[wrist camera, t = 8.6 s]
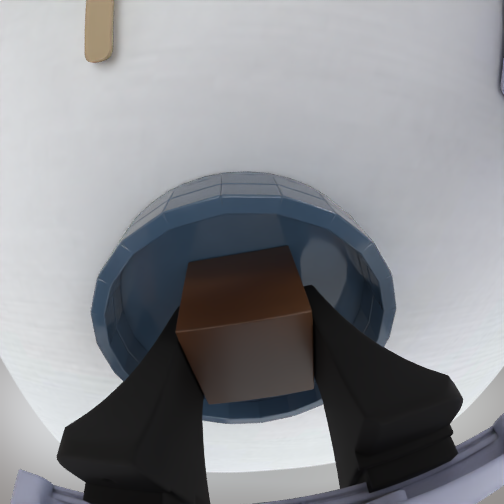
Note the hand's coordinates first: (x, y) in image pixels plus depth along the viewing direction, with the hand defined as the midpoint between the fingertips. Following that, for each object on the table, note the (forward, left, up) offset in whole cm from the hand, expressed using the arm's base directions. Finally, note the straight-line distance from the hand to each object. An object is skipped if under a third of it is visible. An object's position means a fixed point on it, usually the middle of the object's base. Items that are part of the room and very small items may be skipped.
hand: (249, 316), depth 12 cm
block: (0, 0, -1) cm, 1 cm away
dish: (0, +1, -2) cm, 2 cm away
